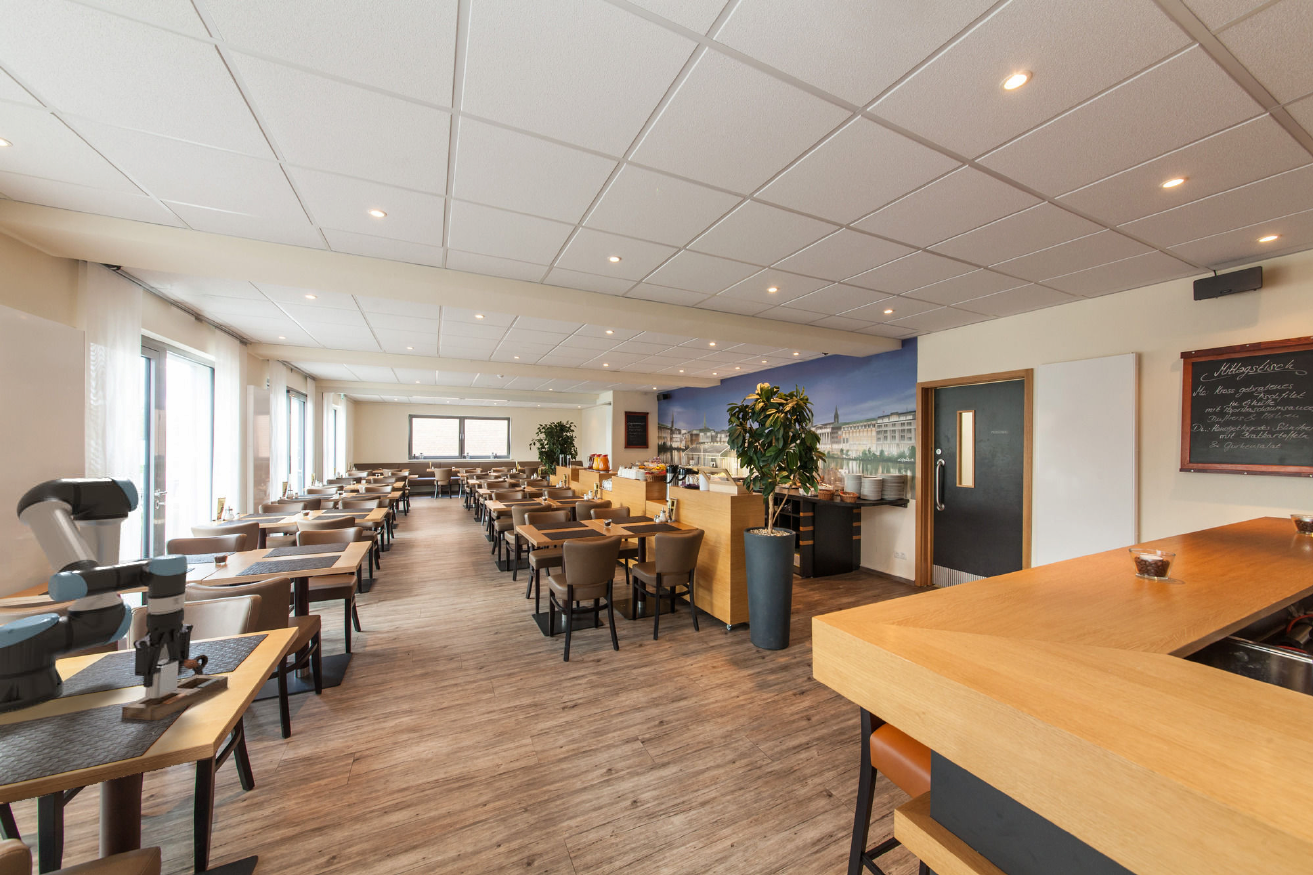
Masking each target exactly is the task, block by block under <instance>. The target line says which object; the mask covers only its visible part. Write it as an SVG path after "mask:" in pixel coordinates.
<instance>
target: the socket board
mask: <svg viewBox="0 0 1313 875" xmlns="http://www.w3.org/2000/svg"><path fill="white" fill-rule="evenodd" d="M193 675H194V674H193ZM191 676H192V675H191ZM191 676H190V678H189V677H187V678H185V679H183V680H180V681H179V682H178V681H177V691H174V692H172V693H170V694H168V695H166V696H163V697H161V698H145V696H144V697H142V698H140V699H137V700H135V701H133V702H129V703H128V704H126V705H124V706H122V707H121V712H122V713H121V719H130V720H131V719H132V720H133V719H135V720H149V721H159V720H161V719H163V718H166V717H168V716H170V715H171V714H173V713H176V712H178V711H180V710H182V709H184V708H186V707H188V706H191V705H192V704H195V703H197V702H198V701H200V700H203V699H205V698H206V697H210V695H212V694H215V693H217V692H219V691H221V690H223V689H225V688H226V687H227V688H228V686H229V685H228V683H229V681H228V680H229V677H228V676H227V675H226V676H225V675H223V676H222V675H209V674H208V675H207V674H203V675H194V676H192V677H191Z"/></svg>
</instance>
